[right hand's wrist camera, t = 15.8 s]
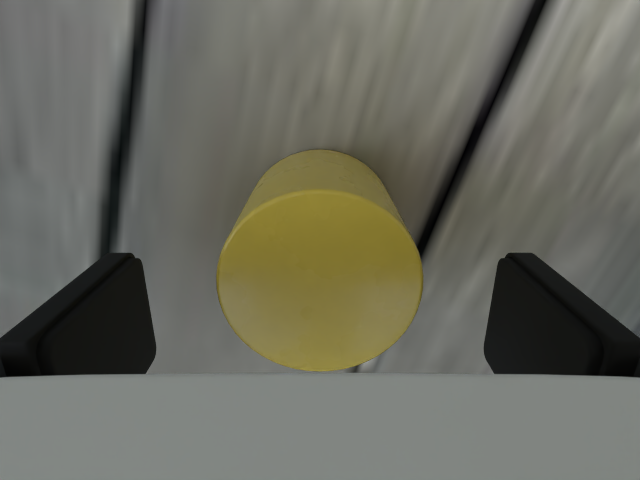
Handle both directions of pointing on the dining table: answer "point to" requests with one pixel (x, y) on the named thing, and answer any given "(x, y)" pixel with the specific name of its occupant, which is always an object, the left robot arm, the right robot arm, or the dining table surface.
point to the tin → (319, 265)
